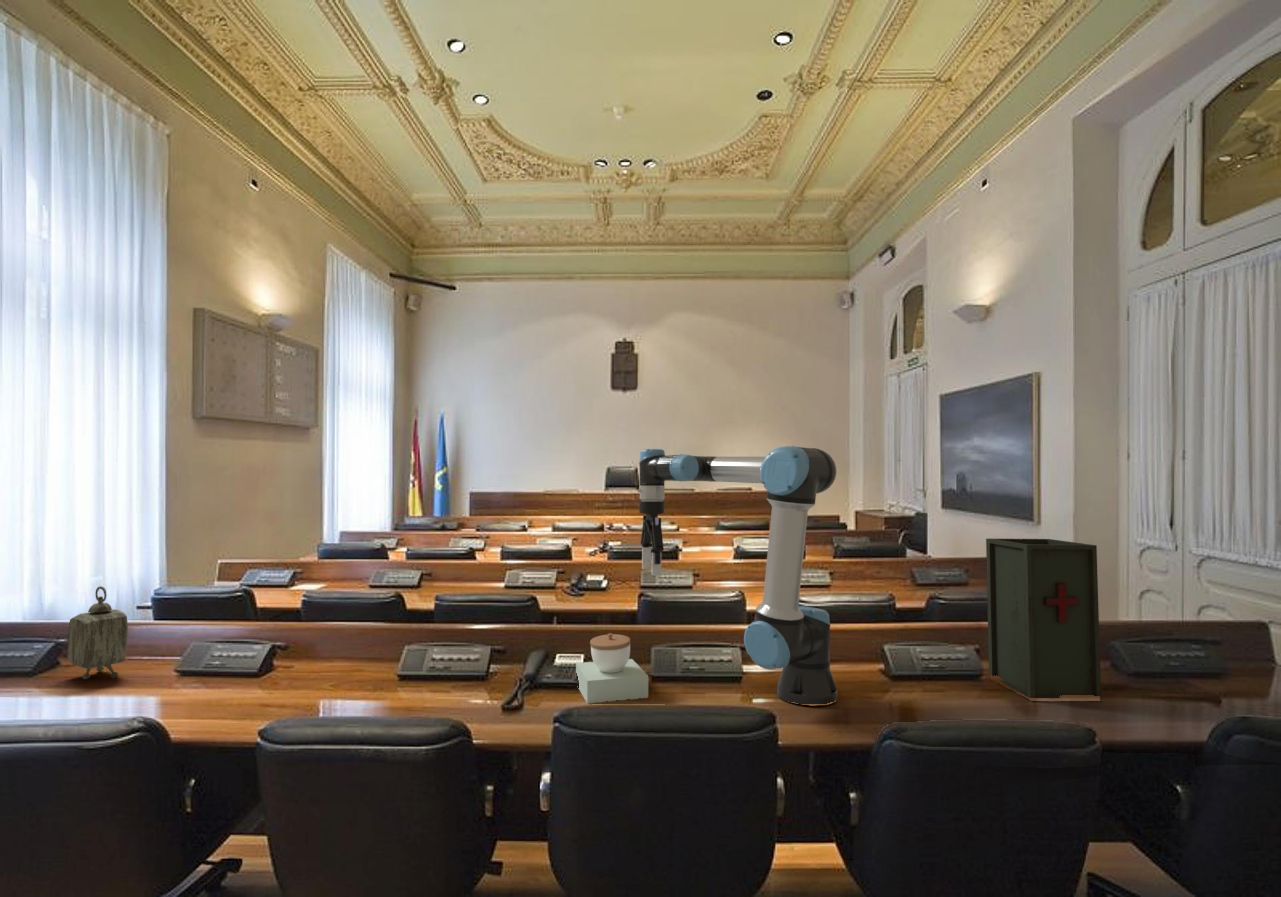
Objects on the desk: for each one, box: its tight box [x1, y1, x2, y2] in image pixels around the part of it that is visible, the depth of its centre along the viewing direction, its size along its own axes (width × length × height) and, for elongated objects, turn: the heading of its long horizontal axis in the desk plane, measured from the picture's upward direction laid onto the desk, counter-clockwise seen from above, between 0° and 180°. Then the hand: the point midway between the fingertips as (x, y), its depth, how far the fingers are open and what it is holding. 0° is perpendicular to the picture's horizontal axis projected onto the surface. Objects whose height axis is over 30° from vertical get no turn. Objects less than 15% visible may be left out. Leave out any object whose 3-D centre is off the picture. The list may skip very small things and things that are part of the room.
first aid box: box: [985, 538, 1102, 698], centre depth 171 cm, size 18×18×40 cm
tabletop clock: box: [67, 585, 128, 680], centre depth 175 cm, size 14×9×25 cm, turn 58°
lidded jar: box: [589, 632, 631, 673], centre depth 167 cm, size 11×11×9 cm
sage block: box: [575, 658, 649, 704], centre depth 167 cm, size 16×16×6 cm
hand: (651, 572), depth 187 cm, fingers open, 13 cm apart
